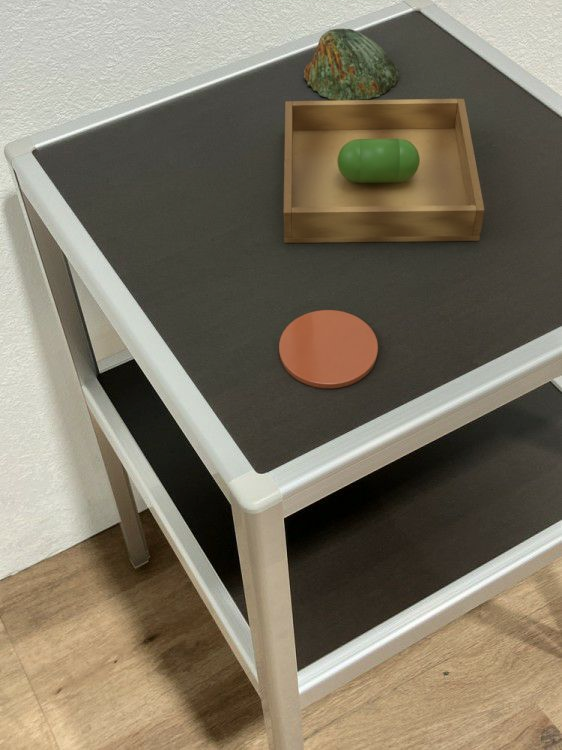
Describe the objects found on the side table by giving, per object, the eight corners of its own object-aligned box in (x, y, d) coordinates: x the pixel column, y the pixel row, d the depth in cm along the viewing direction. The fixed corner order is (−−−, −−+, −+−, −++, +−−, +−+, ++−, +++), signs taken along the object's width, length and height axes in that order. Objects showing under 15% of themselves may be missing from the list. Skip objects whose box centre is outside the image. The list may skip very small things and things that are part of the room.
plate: (375, 314, 81) (375, 309, 80) (380, 388, 76) (380, 383, 75) (279, 314, 81) (279, 310, 81) (278, 389, 76) (278, 384, 76)
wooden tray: (459, 129, 97) (464, 98, 94) (479, 241, 86) (484, 210, 83) (286, 131, 97) (285, 101, 94) (284, 243, 87) (283, 212, 84)
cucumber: (416, 164, 92) (419, 129, 89) (419, 191, 90) (423, 156, 87) (336, 165, 93) (337, 130, 90) (337, 192, 90) (338, 157, 87)
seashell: (329, 74, 96) (290, 25, 102) (326, 110, 99) (288, 60, 105) (418, 57, 99) (374, 11, 105) (412, 93, 102) (370, 46, 108)
